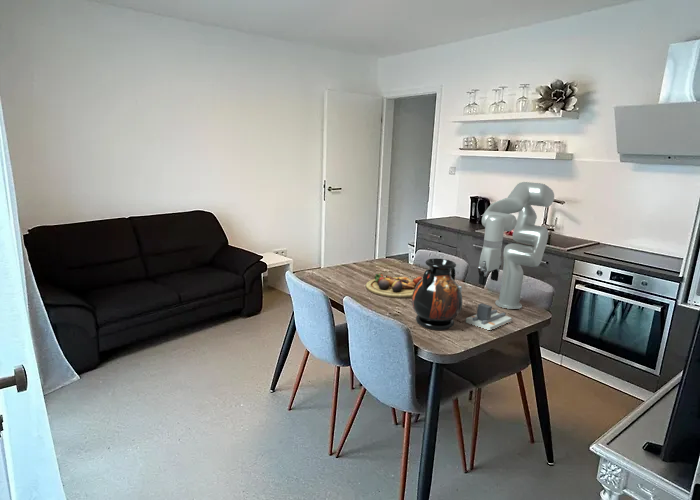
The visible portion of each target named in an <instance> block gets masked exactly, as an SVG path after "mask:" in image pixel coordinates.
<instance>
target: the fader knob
mask: <svg viewBox="0 0 700 500" xmlns="http://www.w3.org/2000/svg"><path fill="white" fill-rule="evenodd" d="M492 310H493V306H492V305H489V304H486V303H483V302H481V303H478V305H477V310H476V314H477V317H479V320H481V321H483V320H488V319H490V318H491V311H492Z"/></svg>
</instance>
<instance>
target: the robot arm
mask: <svg viewBox="0 0 700 500" xmlns="http://www.w3.org/2000/svg"><path fill="white" fill-rule="evenodd" d="M554 200H555V193H554V190H553V189H552V188H550V187H549V186H548V185H546V184H545V183H541V182H530V181H529V182H528V181H522V182H518V183H517V184H516V185H515V186H514V188H513V189H512V191H511V192H510V194H509V195H508V196H507V197H505V198H503V199H500V200H497V201H495V202H493V203H491V204H490V205H489V206H488V207H487V208H486V209H485V211H484V213H483V214H482V217H481V224H482V226H483V227H484V238H483V245H482V246H483V247H482V249H481V253H480V256H479V257H480V258H479V262H478V267H477V271H478V284H479V285H482V286H486V285H487V279H488V278H487V274H488V272H491V273H490V280H491V281H495V282H497V281H499V273H500V272H501V271H500V270H501V265H502V264H503V267H502V274H501V275H502V276H501V284H500V290H499V297H498V298H499V299H496V300H495V301H494V302H495V305H496V306H497V307H499V308H501V307H502V308H501V309H504V308H507V309H506V310H509V309H519V310H521V309H522V308H523V304H522V303H521V302H520V301H521V300H523V296H522V295H521V291H522V286H523V279H524V270H523V267H522V266H525V267H530V268H537V267H538V266H539V267H540V264H541V263H542V261H543V257H544V252H545V251H546V246H547V243H548V240H549V230H548V229H547V227H545V226H542V225H536V221H537V219H538V218H537V217H538V216H537V213H536V211H535V210H534V208H533V207H532V206H536V207H542V208H543V207H545V208H548V207H550V206H551V205H552V204H553V202H555V201H554ZM516 213H517V214H518V215H517V217H516V216H515V215H514V214H516ZM511 231H513V232H512V239H513V241H515V242H517V243H515V242H514V243H512V242H511V243H508V244H506V245H505V246H504V248H503V247H502V246H503V239H504V233H505V232H511ZM525 244H526V245H525ZM530 245H532V246H530ZM502 248H503V261H502ZM521 265H522V266H521ZM520 308H521V309H520Z"/></svg>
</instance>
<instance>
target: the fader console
mask: <svg viewBox="0 0 700 500" xmlns="http://www.w3.org/2000/svg"><path fill="white" fill-rule="evenodd" d="M512 319H513V318H512V317H510V316H508V315H507V314H506V312H505V311H504V312H501V313H499V312H498V309H492V311H491V318H490V319H488V320H483V321H481V320H479V317H477V313H476V314H473V315H471V316H468V317H465V324H469V325H471V324H472V325H471V326H474V325H475V326H474V327H477V326H478V327H477V328H479V327H481V328H480V329H482V328H484V329H487V330H492V329H495V328H497V327H499V326H501V325H503V324H505V323H507V322H510V321H511V322H512ZM511 322H510V323H511ZM501 327H502V326H501ZM499 328H500V327H499ZM484 329H483V330H484ZM497 329H498V328H497ZM487 330H486V331H487ZM495 330H496V329H495ZM492 331H493V330H492Z"/></svg>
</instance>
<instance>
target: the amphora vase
mask: <svg viewBox="0 0 700 500" xmlns="http://www.w3.org/2000/svg"><path fill="white" fill-rule="evenodd" d="M424 263H425V265H426V266H428V267H429V269H426V270H425V271H424V272H423V275H422V279H421V280H420V281H419V282H418V284H417V285H416V287H415V289H414V292H413V295H412V298H411V306H412V309H413V311H414V313H416V317H415V321H416V322H417V324H418V325H419V326H421V327H424V328H425V329H429V330H437V331H442V330H443V331H445V330H448V329H451V328H453V326H454V324H455V321H454V320H455V318H457V317H458V316H459V314H460V313H461V312H462V308H463V296H462V295H463V294H462V291H460V288H459V286H460V285H459V284H458V283H456V281H455V280H456V269H455V268H456V267H457V264H456V262H454V261H452V260H450V259H446V258H428V259H426V260H425V262H424Z"/></svg>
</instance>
